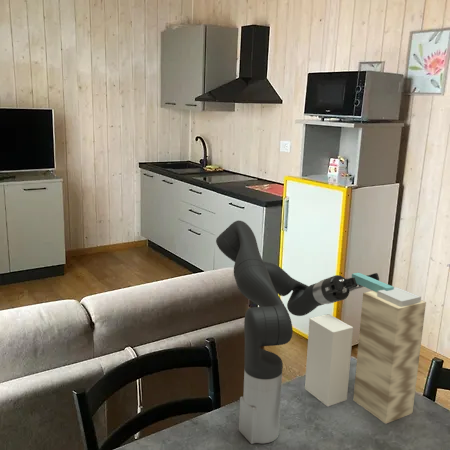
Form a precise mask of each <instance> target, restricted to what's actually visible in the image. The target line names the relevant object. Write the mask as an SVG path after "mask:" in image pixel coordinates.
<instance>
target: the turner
mask: <svg viewBox="0 0 450 450" xmlns="http://www.w3.org/2000/svg"><path fill="white" fill-rule="evenodd" d="M353 277H354V278H355V280H356V283H357V284H359V285H361V286H364V287H363V288H366V289H368V290H371V291H375V292H377V297H380V298H382V299H384V300H386V301H389V302H391V303H393V304H395V305H398V306H400V307H403V306H407V305H412V304H416V303H420V302H421V300H422V296H419V295H417V294H415V293H412V292H410V291H408V290H405V289H403V288H400V287H399V286H398V287H397V286H393V285H390V284H389V283H385V282H383V281H380V280H379V281H378V280H376V279H373V278H371V277H368V276H366V274H363V273H361V272H356V273H355V272H353V273H351V278H353ZM359 285H358V286H359Z"/></svg>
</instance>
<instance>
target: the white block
mask: <svg viewBox="0 0 450 450" xmlns="http://www.w3.org/2000/svg"><path fill="white" fill-rule="evenodd" d="M308 320H309V321H308V334H307V335H308V336H307V348H306V349H307V352H306V366H305V378H304V379H305V382H304V389H305V390H306V391H307V392H309V393H310V394H311V395H312V396H313V397H315V398H316V399H317V400H318V401H320V402H321V403H322V404H323V405H325V406H326V407H330V406H333V405H337V404H339V403H342V402H344V401H347V400H348V391H349V381H350V380H349V378H350V368H351V357H352V345H353V334H354V326H352V325H349V323H346V322H344V321H343V320H340V319H339V318H337V317H335V316H333V315H332V314H323V315H318V316H315V317H311V318H308Z"/></svg>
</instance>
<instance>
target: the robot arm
mask: <svg viewBox="0 0 450 450" xmlns="http://www.w3.org/2000/svg"><path fill="white" fill-rule="evenodd" d="M215 240H216V241H215V243H216V245H217V248H218V249H219V250H220V252H221V253H222V254H223V255H224V256H226V257H227V258H228V259H230V260H231V261H233V262H234V265H233V276H234V280H235V283H236V287H237V289H238V290H239V292H240V293H241V294H242V295H243V296H244V297H245V298H247V299H248V300H249V301H251V302H252V303H253V304H255V305H257V306H254V307H253V306H252V307H251V306H250V307H248V308H247V310H246V311H245V315H244V322H243V323H244V325H243V327H244V329H243V331H244V367H243V368H244V371H243V373H244V374H243V375H244V376H243V378H244V379H243V393H242V394H243V396H240V397H239V414H238V415H239V418H238V431H239V432H240V433H241V434H242V436H243V437H244V438H245V439H246V440H247V441H248V442H249V443H250V444H251V445H254V444H269V443H273V442H274V441H276V440H277V439H278V437H279V436H280V435H279V434H280V423H281V422H280V420H281V402H282V399H281V398H282V383H283V367H284V366H283V365H284V364H283V360H282V358H281V357H280V356H279V355H278V354H276V353H274V352H273V351H269V350H265V349H263V348H261V347H273V346H282V345H286V344H288V343H289V342H290V341H291V340H292V338H293V333H294V332H293V324H292V323H293V322H292V320H291V317H290V314H292V315H293V316H297V317H303V316H306V315H308V314H310V313H311V312H313V311H314V310H315V309H317V308H318V307H320V306H322V305H324V306H325V305H329V304H333V303H337V302H340V301H344V300H346V299H347V298H348V297H349V295H350V292H355V290H359V289H363V288H365V287H364V286H361V285H359V284H357V283H356V280H355V278H354V277H353V278H352V277H347V278H345V277H344V276H342V275H340V274H338V275H337V274H336V275H333V276H330V277H326V278H324V279H322V280H320V281H317V282H315V283H313V284H311V285H308V284H305V283H302V282H300V281H299V280H297V279H295V278H294V277H291V275H290V274H288V273H287V272H286V271H285V270H284V269H283V268H282V267H281V266H279V265H277V264H275V263H271V262H268V261H264V260H263V257H262V256H261V253H260V250H259V246H258V241H257V239H256V235H255V233H254V231H253V229H252V228H251V227H250V226H249V225H248V224H247V223H246V222H245V221H243V220H236V221H234V222H232V223H231V224H229V226H228V227H226V229H224V230H223V231H222V232H221V233H220V234H219V235H218V236H217V238H216V239H215ZM365 275H366V274H365ZM366 276H368V277H371V278H373V279H376V280H378V281H380V277H379V274H378V273H377V272H375V273H372V274H369V275H368V274H367V275H366ZM290 293H291V294H290ZM289 294H290V297H289V299H288V301H287V303H286V306H285V303H283V301H282V299H281V297H285V296H288V295H289ZM280 296H281V297H280ZM289 313H290V314H289Z"/></svg>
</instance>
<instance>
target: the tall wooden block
mask: <svg viewBox="0 0 450 450" xmlns="http://www.w3.org/2000/svg"><path fill="white" fill-rule="evenodd" d="M426 306H427V302H426V301H424V300H422V299H421V302H420V303H416V304H412V305H407V306H403V307H400V306H398V305H395V304H393V303H391V302H389V301H386V300H384V299H382V298H380V297H377V292H375V291H373V290H371V291H366V292H363V293H362V302H361V313H360V323H359V336H358V345H357V356H356V368H355V379H354V380H355V381H354V389H353V401H354V402H355V403H356V404H357V405H359V406H360V407H362V408H363V409H364V410H366V411H368V412H369V413H370V414H372V415H373V416H374V417H376V418H377V419H379V420H380V421H381V422H382V423H384V424H385V425H387V424H389V423H392V422H394V421H397V420H399V419H402V418H404V417H406V416H409V415H412V414H413V412H414V403H415V396H416V390H417V389H416V387H417V380H418V372H419V363H420V354H421V348H422V347H421V346H422V340H423V339H422V338H423V330H424V323H425V314H426Z"/></svg>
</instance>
